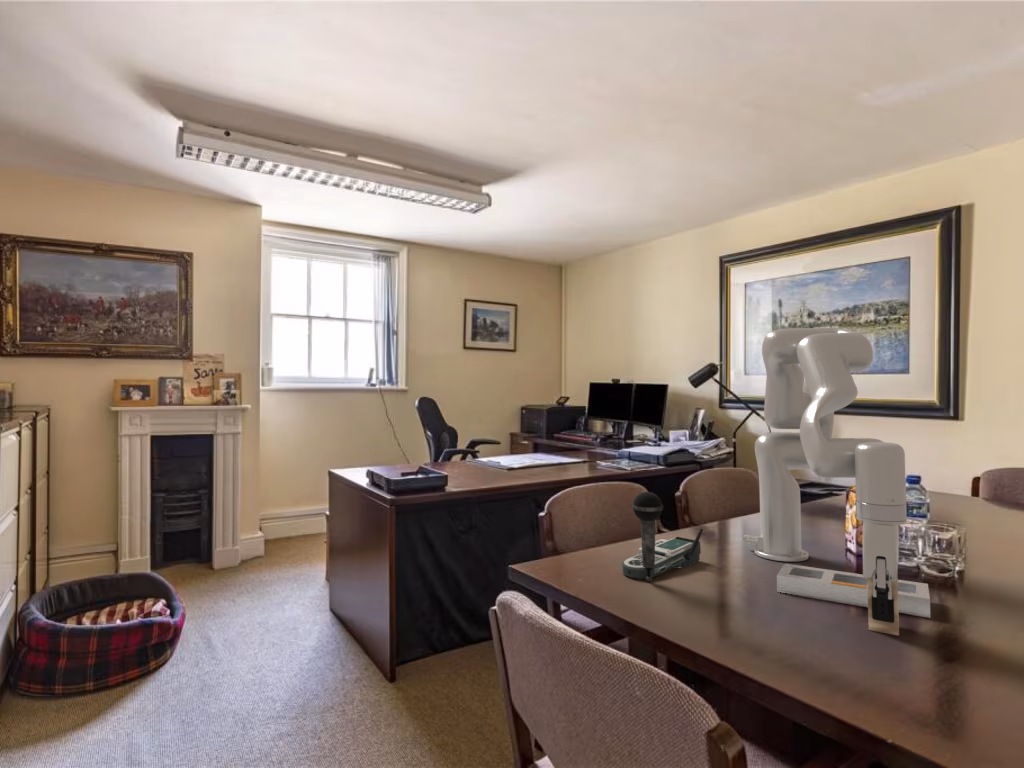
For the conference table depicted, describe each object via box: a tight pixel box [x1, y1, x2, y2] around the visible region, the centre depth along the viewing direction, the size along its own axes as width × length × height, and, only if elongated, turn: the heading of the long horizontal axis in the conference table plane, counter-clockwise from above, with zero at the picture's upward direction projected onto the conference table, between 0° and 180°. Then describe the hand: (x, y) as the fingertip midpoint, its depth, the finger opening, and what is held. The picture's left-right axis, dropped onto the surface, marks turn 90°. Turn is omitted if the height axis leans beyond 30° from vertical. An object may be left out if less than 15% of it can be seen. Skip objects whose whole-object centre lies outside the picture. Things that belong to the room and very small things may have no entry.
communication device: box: [621, 528, 704, 580], centre depth 138 cm, size 12×24×9 cm, turn 130°
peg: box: [867, 572, 900, 636], centre depth 100 cm, size 4×4×11 cm
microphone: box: [631, 491, 664, 583], centre depth 127 cm, size 7×7×20 cm
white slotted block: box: [776, 563, 931, 619], centre depth 116 cm, size 26×10×4 cm, turn 56°
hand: (883, 614), depth 100 cm, fingers closed on peg, 4 cm apart
